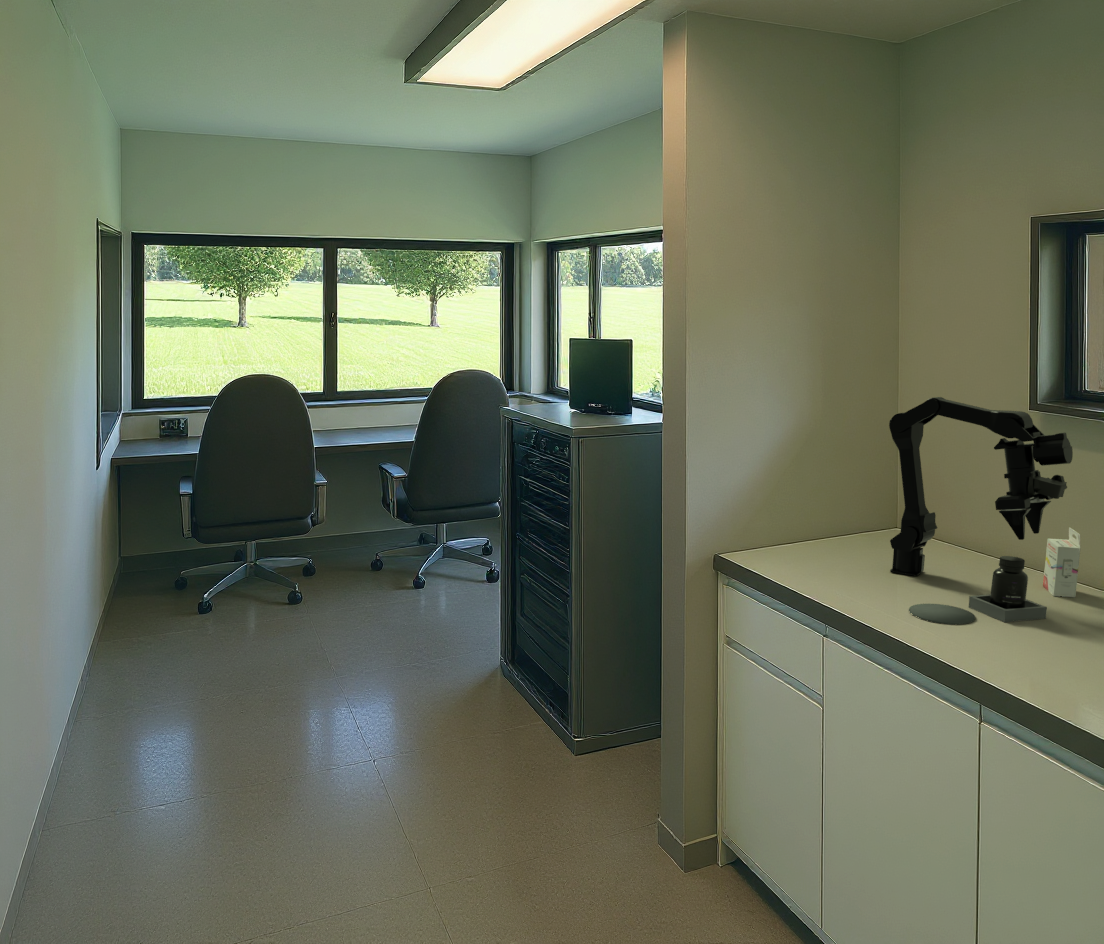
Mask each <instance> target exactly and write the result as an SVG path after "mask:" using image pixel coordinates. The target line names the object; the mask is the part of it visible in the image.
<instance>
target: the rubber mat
mask: <svg viewBox="0 0 1104 944" xmlns="http://www.w3.org/2000/svg"><path fill="white" fill-rule="evenodd" d="M909 611H910V613H912V614H913V615H914V616H913V615H912V616H913V617H915V616H917V617H919V618H921V619H920V620H922V619H925V620H924V621H926V620H928V621H927V622H930V621H932V622H931V623H935V622H936V624H941V623H944V624H943V625H955V624H957V625H967V624H971V623H973V622H974V621H975V620H976V615H975V614H974V613H973V612H971V611H969V610H966V609H964V608H961V607H957V606H952V605H949V604H942V603H941V604H940V603H917V604H913V605H911V606H910V607H909V608H908V612H909ZM910 613H909V614H910ZM917 617H916V618H917ZM919 618H918V619H919Z"/></svg>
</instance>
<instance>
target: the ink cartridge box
mask: <svg viewBox="0 0 1104 944" xmlns="http://www.w3.org/2000/svg"><path fill="white" fill-rule="evenodd" d="M1045 552H1046V553H1045V562H1044V572H1043V582H1042V587H1043V588H1044V589H1045V590H1046V591H1047V592H1048V593H1049V594H1051V595H1052V596H1053V597H1060V596H1062V597H1063V598H1076V595H1077V585H1078V577H1079V576H1078V575H1079V566H1080V557H1081V534H1080V533H1079V532H1078V531H1076V530H1074V529H1073V528H1071V526H1070V527H1068V539H1065V538H1064V539H1061V538H1049V537H1048V538H1047V539H1046V551H1045Z"/></svg>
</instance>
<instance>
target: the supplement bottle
mask: <svg viewBox="0 0 1104 944" xmlns="http://www.w3.org/2000/svg"><path fill="white" fill-rule="evenodd" d="M1025 563H1026V560H1025V559H1024V558H1021V557H1018V556H1014V555H1013V556H1012V555H1001V556H1000V557H999V562H998V566H999V567H997V568H996V569H994V571H992V572H993V573H992V579H991V587H990V603H991V604H994V605H996V606H999V607H1001V608H1004V609H1015V608H1025V601H1026V599H1027V592H1028V591H1027V590H1028V584H1029V583H1028V582H1029V576H1028V574H1027V572H1026V571H1024V569H1025V565H1026V564H1025Z"/></svg>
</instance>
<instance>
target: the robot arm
mask: <svg viewBox="0 0 1104 944" xmlns="http://www.w3.org/2000/svg"><path fill="white" fill-rule="evenodd" d="M938 416H941V417H945V418H949V419H952V420H955V421H961V422H964V423H965V422H966V423H969V424H973V425H976V426H981V427H984V428H985V429H988V430H990V431H991V432H992V433H994V434H996V435H999V436H1001V437H1002V438H1000V439H999V441H998V442H997V443H996V445H994V447H993V450H996V451H997V450H1003V451H1004V458H1005V466H1006V473H1003V478H1004V479H1007V481H1008V482H1007V485H1008V491H1006V493H1005V495H1002V496H999V497H998V498H997V499H996V500H995V501H994V503H995V510H996V511H998V512H999V514H1000V515H1001V516H1002V517H1003V518H1004V520H1005V521H1006V522H1007V524H1008V525H1009V527H1010V528H1011V530H1012V531H1013V533H1014V534H1015V537H1017V539H1018V540H1020V541H1023V540H1025V534H1026V520H1027V523H1028V524H1029V527H1030V529H1031V531H1032V534H1035V535H1037V534H1039V533H1040V529H1041V524H1042V518H1043V513H1044V510H1045V508H1046V507H1048V505H1049V504H1051V502H1052V500H1053V499H1055V500H1057V499H1060V498H1063V497H1064V494H1065V490H1067V489H1068V486H1067V482H1066V481H1065V477H1064V476H1063V475H1060V474H1054V475H1053V476H1052V477H1051V478H1050V477H1044V476H1042V475H1041V471H1039V469H1036V466H1035V463H1039V465H1040V466H1041V467H1042V466H1054V465H1055V466H1056V465H1067V464H1068V465H1069V464H1071V463H1072V461H1073V446H1072V444H1071V442H1070V440H1069V438H1068V435H1067V432H1060V433H1055V434H1044V433H1043V432H1042V431H1041V430H1040V429H1039V428H1038V427H1037V426H1036V425H1035V424H1034V421H1033V418H1032V417H1031V416H1030V414H1029V413H1028V412H1025V411H1022V410H1001V409H999V410H997V409H988V408H984V407H980V406H975V405H971V404H967V403H964V402H958V401H955V400H951V399H946V398H944V397H942V396H937V397H936V396H934V397H929V398H928V399H927V400H925V401H924V402H922V403H920V404H919V405H917V406H914V407H912V408H911V409H908V410H907V411H906V412H899V413H896V414H894V415H893V416H892V417H891V419H890V420H889V423H888V424H889V425H888V427H889V430H890V434H891V438H892V441H893V443H894V445H895V446H896V447H897V450H898V453H899V454H898V455H899V456H898V457H899V464H900V471H901V472H900V473H901V482H902V491H903V501H904V511H903V514H902V516H901V517H902V518H901V521H900V532H899V533H897V534H896V535H895V536H894V537H892V538H890V540H889V543H890V547H891V549H892V550H893V554H892V567H891V568H890V570H889V573H894V574H900V575H901V574H902V575H906V576H912V577H914V576H915V577H918V576H919V575H920V574H922V573H923V572H924V571H925V560H926V559H925V557H926V556H925V554H924V547H926V545H927V542H928V541H930V540H932V538H933V537H934V536H935V534H936V530H938V526H937V523H936V517H937V516H936V512H930V511H929V510H928V508H927V506H926V501H925V499H926V498H925V491H924V490H925V489H924V481H923V480H924V479H923V473H922V462H921V455H920V454H921V453H920V452H921V451H920V446H921V443H922V440H923V436H924V426H925V425H926V424H928V423H930V422H932V420H934V419H935V418H936V417H938ZM1008 439H1015V440H1008ZM1025 442H1026V443H1025ZM1027 442H1033V443H1027Z"/></svg>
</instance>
